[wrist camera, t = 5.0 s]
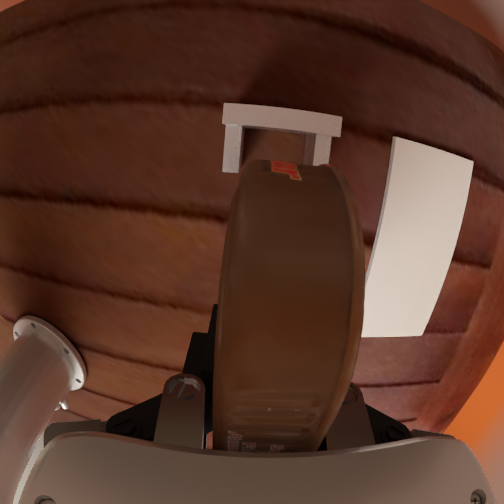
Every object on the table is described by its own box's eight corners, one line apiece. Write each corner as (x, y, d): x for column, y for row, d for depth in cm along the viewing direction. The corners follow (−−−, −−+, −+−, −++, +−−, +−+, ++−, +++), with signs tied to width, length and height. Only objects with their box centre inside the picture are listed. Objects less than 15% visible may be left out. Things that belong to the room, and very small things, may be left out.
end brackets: (320, 121, 20) (342, 117, 14) (288, 331, 27) (294, 375, 22) (233, 111, 20) (223, 102, 14) (219, 325, 27) (211, 370, 22)
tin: (266, 407, 17) (280, 524, 9) (217, 406, 17) (215, 526, 9) (308, 155, 11) (444, 202, 3) (230, 148, 11) (217, 171, 3)
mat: (419, 332, 28) (421, 335, 27) (348, 333, 27) (349, 337, 27) (469, 160, 20) (473, 161, 20) (392, 136, 20) (396, 136, 20)
